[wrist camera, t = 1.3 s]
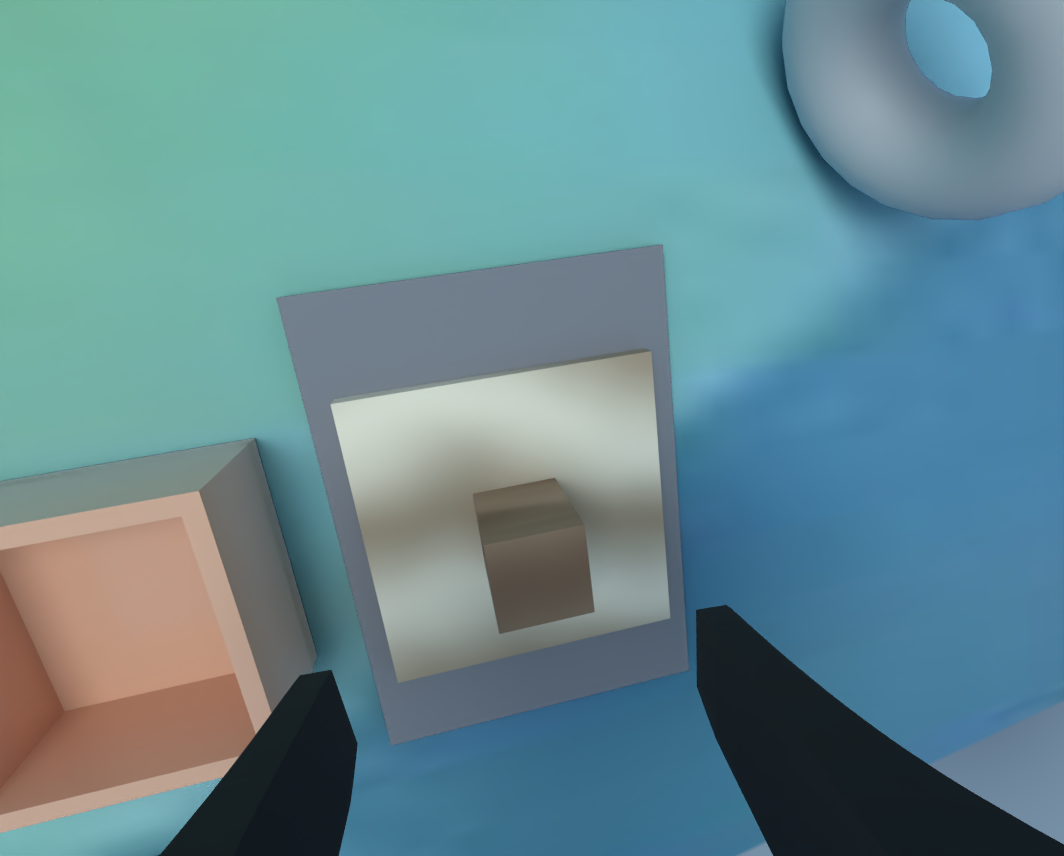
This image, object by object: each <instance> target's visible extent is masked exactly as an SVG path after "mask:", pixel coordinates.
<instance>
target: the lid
mask: <svg viewBox="0 0 1064 856" xmlns="http://www.w3.org/2000/svg"><path fill="white" fill-rule="evenodd" d="M330 405H331V409H332V413H333V417H334V421H335V425H336V429H337V434H338V438H339V442H340V446H341V450H342V454H343V458H344V462H345V467H346V471H347V475H348V479H349V483H350V487H351V491H352V495H353V500H354V504H355V508H356V512H357V516H358V520H359V524H360V528H361V532H362V537H363V541H364V545H365V549H366V553H367V557H368V561H369V565H370V570H371V574H372V578H373V582H374V586H375V590H376V594H377V598H378V603H379V607H380V611H381V615H382V619H383V623H384V627H385V631H386V636H387V640H388V644H389V648H390V652H391V656H392V660H393V664H394V669H395V673H396V677H397V681H398V683H400V682H404V681H408V680H413V679H417V678H421V677H425V676H429V675H434V674H438V673H442V672H446V671H450V670H455V669H459V668H463V667H467V666H471V665H476V664H480V663H484V662H488V661H493V660H497V659H501V658H505V657H509V656H514V655H518V654H522V653H526V652H530V651H535V650H539V649H543V648H547V647H552V646H556V645H560V644H564V643H568V642H573V641H577V640H581V639H585V638H589V637H594V636H598V635H602V634H606V633H611V632H615V631H619V630H623V629H627V628H632V627H636V626H640V625H644V624H648V623H653V622H657V621H661V620H665V619H669V618H670V606H669V592H668V578H667V564H666V550H665V536H664V521H663V507H662V493H661V479H660V465H659V451H658V436H657V422H656V408H655V394H654V380H653V366H652V352H651V351H650V350H647V349H644V348H642V349H636V350H629V351H623V352H617V353H611V354H605V355H599V356H593V357H587V358H581V359H575V360H569V361H563V362H557V363H550V364H544V365H538V366H532V367H526V368H520V369H514V370H508V371H502V372H496V373H490V374H484V375H477V376H471V377H465V378H459V379H453V380H447V381H441V382H435V383H429V384H423V385H417V386H411V387H405V388H398V389H392V390H386V391H380V392H374V393H368V394H362V395H356V396H350V397H344V398H338V399H334V400H333V401H332V403H331V404H330Z"/></svg>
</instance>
